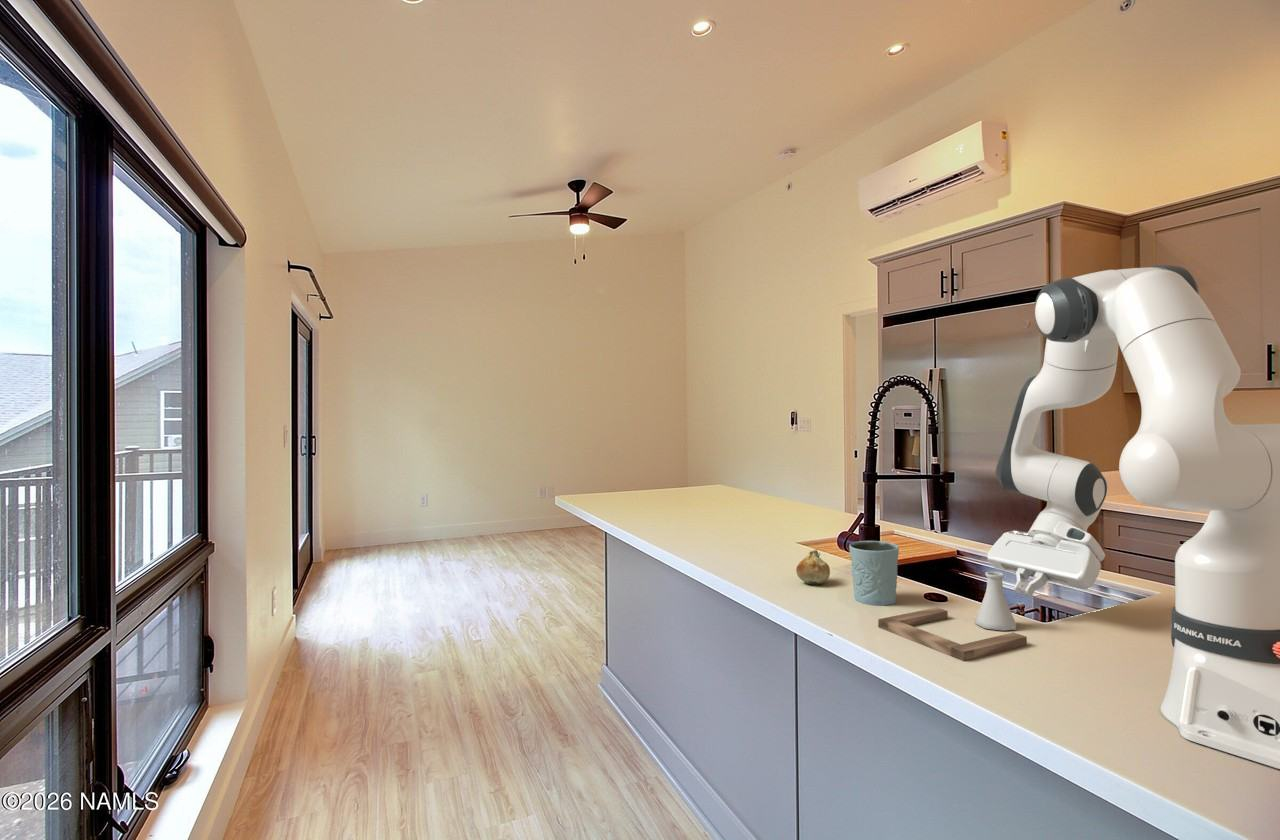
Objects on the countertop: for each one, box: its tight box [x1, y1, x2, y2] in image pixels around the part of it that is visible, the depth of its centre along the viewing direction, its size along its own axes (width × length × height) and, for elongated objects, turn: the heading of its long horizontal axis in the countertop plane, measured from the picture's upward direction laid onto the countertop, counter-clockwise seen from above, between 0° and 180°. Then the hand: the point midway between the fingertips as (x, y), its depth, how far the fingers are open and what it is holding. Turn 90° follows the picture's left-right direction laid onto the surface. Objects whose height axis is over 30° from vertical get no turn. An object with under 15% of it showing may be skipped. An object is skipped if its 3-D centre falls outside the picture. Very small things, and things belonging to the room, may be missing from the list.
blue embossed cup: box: [848, 540, 900, 607], centre depth 142 cm, size 10×10×12 cm
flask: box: [974, 571, 1017, 631], centre depth 125 cm, size 7×7×10 cm
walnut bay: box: [877, 607, 1028, 662], centre depth 120 cm, size 19×16×2 cm
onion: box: [795, 549, 831, 586], centre depth 157 cm, size 8×8×8 cm
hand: (1022, 592), depth 128 cm, fingers closed
